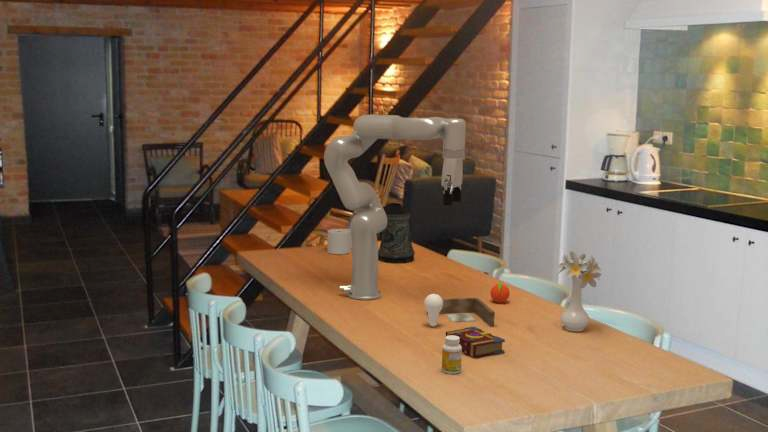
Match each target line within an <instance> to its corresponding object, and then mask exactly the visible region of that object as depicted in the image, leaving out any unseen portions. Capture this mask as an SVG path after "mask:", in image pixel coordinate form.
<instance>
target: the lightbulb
mask: <svg viewBox="0 0 768 432" xmlns="http://www.w3.org/2000/svg"><path fill="white" fill-rule="evenodd" d="M442 299H443V298H442V296H440V295H439V294H437V293H431V294H429V295H427V296H426V297H425V299H424V303H423V304H424V307H425V309H426V313H427V312H428V314H427V315H428V324H429V326H430V327H432V328H434V327H436V326H437V325H438V319H439V315H440V314H439V312H440V310H441V309H442V307H443V300H442Z"/></svg>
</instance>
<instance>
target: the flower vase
mask: <svg viewBox="0 0 768 432" xmlns="http://www.w3.org/2000/svg"><path fill="white" fill-rule="evenodd" d="M569 255H570V258H569V257H568V255H566V254H564V255H563V256H562V257H563V258H562V261H563V262H561V263H559V264H558V266H557V269H559V270H558V271H557V273H556V275H559V274H560V273H561V272H563V271H565V270H566V269H567V270H569V271H567V272H566V274H565V277H566V279H570V278H571V283H572V287H571V288H572V289H571V297H570V302H569V305H568V307H567V308H566V309H565V310H563V312H562V313H561V315H560V322H561V324H562V325H563V326H564V329H565V330H566V331H569V332H574V333H576V332H583V331H585V328H586V327H587V326H588V325H589V324H590V320H591V319H590V316H589V315H588V313H587V312H586V310H585V309H584V307H583V303H582V290H583V289H585V288H586V287H587V285H588V284H589V286H590V287H593V288H596V287H597V281H596V280H595V279H597V280H598V281H600V280H601V278H600V277H601V275H602V273H601V270H602V269H601V267H599V263H598V262H597V261H596V259H595V257H594V256H593V255H592V254H591V255H590V259H588V260H587V261H584V260H585V258H586V256H587V255H586V254H585V253H581V254H579V255H578V256H577V254H576V253H575V252H574V251H573V250H570V251H569Z"/></svg>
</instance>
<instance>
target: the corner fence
mask: <svg viewBox="0 0 768 432" xmlns="http://www.w3.org/2000/svg"><path fill="white" fill-rule="evenodd" d="M442 300H443V307H442V309H441V310H440V312H439V315H444V314H445V316H446V317H447V318H448V319H449V320H450V321H452V323H459V322H460V323H463V322H476V319H475V318H474V317H473V316H472V315H470V314H471V313H474V314H475V315H477V316H478V318H480V319H481V320H482V321H483V322H485V324H486V325H488V326H489V327H490V328H494V327H495V313H496V312H495V311H494V310H493V309H491V307H489V306H488V305H487V304H486V303H484V302H483V301H482V300H481V299H480V298H478V297H461V298H460V297H459V298H457V297H455V298H442ZM426 315H428V312H427V311H426Z"/></svg>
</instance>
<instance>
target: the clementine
mask: <svg viewBox="0 0 768 432" xmlns="http://www.w3.org/2000/svg"><path fill="white" fill-rule="evenodd" d="M490 297H491V299H492V300H493V301H494V302H495V303H498V304H502V303H505V302H506V301H507V300H509V298H510V289H509V288H508V286H507V285H505V284H503V283H501V282H500V283H496V284H494V285H493V286H492V287H491V289H490Z"/></svg>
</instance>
